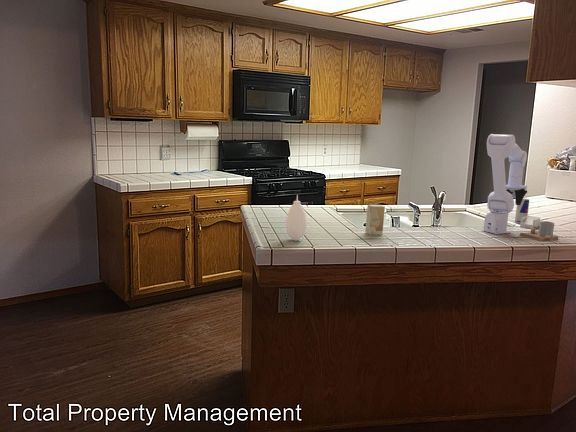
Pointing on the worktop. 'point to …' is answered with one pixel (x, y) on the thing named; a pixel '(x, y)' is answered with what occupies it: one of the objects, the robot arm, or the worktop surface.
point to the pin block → (534, 235)
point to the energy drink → (522, 210)
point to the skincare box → (375, 219)
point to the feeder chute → (530, 222)
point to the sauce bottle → (296, 221)
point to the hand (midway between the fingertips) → (512, 205)
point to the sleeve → (546, 229)
